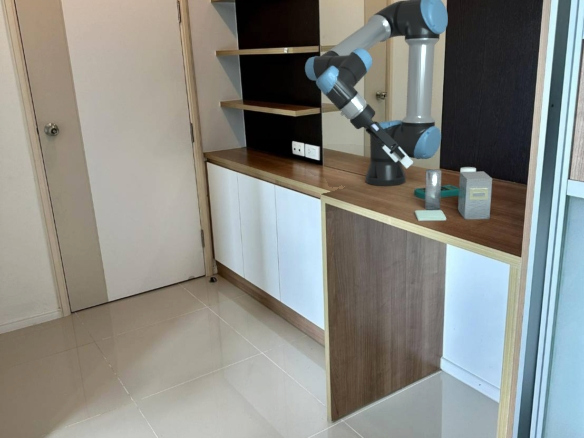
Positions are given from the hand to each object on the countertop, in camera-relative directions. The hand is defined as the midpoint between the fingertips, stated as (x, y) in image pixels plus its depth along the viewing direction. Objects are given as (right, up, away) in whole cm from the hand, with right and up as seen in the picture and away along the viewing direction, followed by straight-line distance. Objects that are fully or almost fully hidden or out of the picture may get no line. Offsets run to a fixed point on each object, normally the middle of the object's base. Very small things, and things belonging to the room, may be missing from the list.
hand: (404, 162), depth 166 cm
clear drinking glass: (+10, -14, +4) cm, 18 cm away
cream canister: (+21, -13, +5) cm, 25 cm away
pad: (+7, -17, -5) cm, 19 cm away
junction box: (+20, -16, -4) cm, 26 cm away
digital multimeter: (+16, -10, +20) cm, 27 cm away
